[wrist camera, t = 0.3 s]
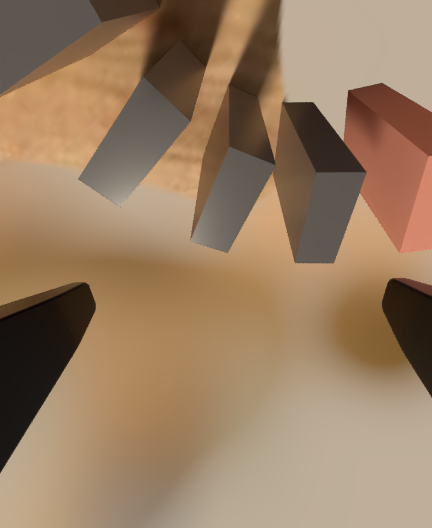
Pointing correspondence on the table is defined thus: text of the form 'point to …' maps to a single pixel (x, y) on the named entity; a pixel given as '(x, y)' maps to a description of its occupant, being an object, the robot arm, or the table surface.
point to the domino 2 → (146, 125)
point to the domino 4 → (314, 182)
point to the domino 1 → (59, 34)
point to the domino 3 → (231, 171)
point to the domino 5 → (393, 162)
